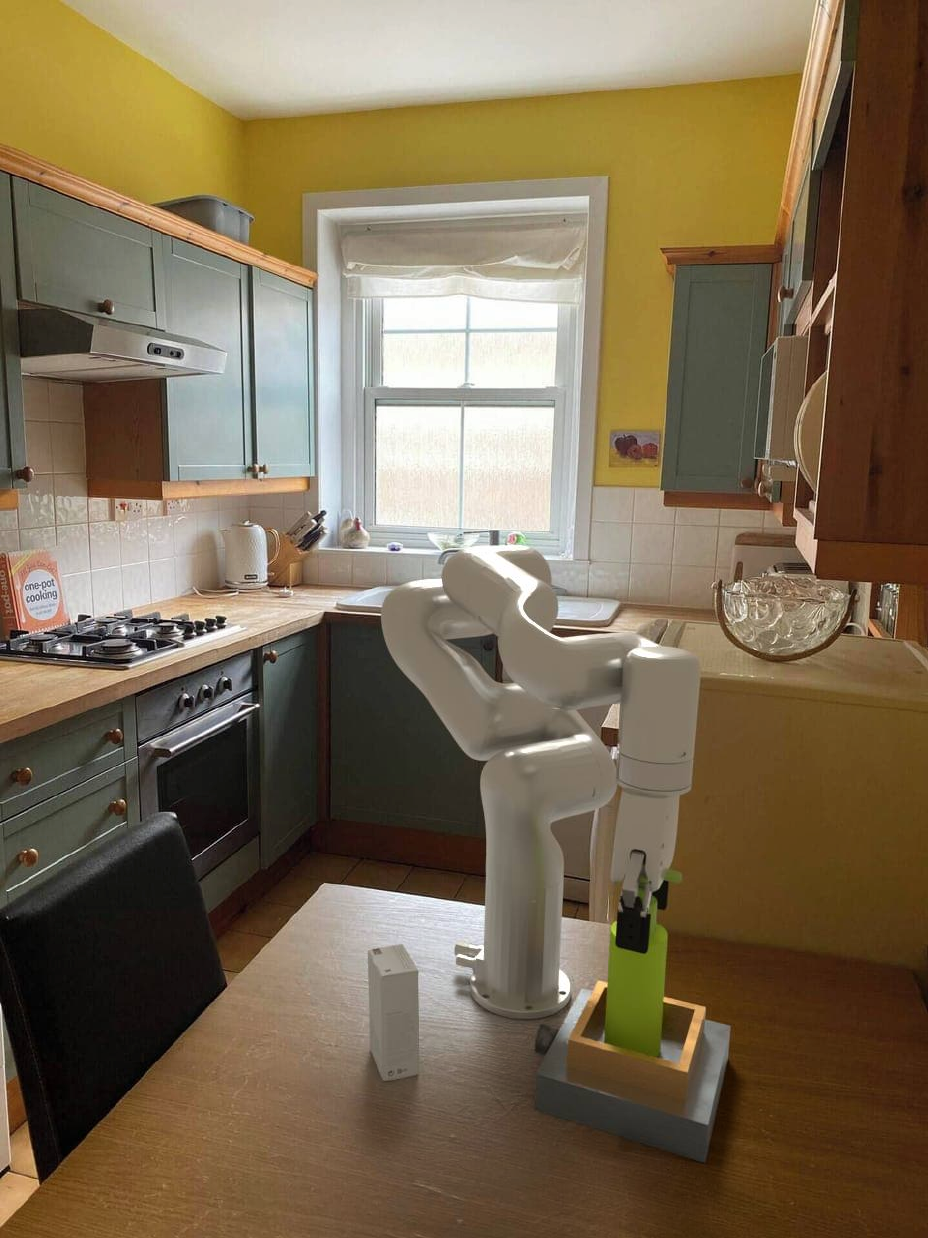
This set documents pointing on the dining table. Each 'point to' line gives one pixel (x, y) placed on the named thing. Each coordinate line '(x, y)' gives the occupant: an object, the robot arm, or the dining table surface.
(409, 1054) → the skincare box
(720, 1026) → the bottle holder tray
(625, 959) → the green pump bottle
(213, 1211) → the dining table surface
